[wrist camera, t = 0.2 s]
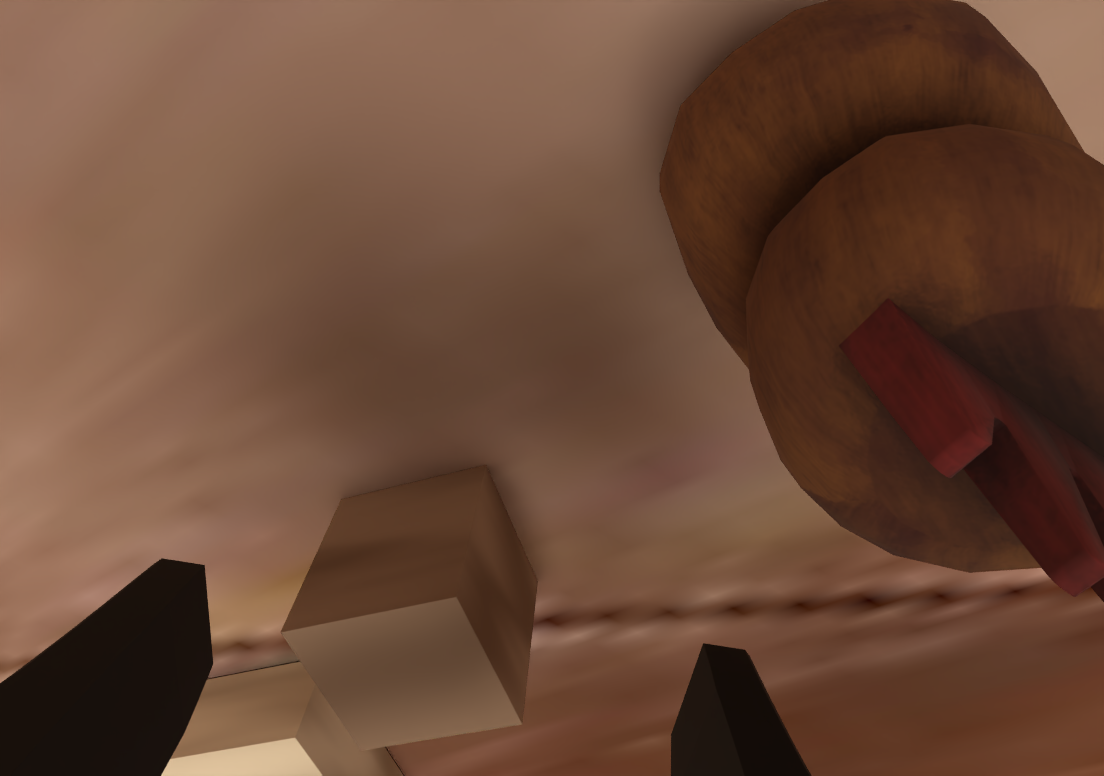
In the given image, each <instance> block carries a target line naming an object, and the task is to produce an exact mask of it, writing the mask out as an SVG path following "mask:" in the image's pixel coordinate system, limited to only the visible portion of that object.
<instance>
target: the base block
mask: <svg viewBox="0 0 1104 776" xmlns="http://www.w3.org/2000/svg"><path fill="white" fill-rule="evenodd" d="M161 776H403V774H402V773H401V771H400V769H399V768H398V766H397V765H396V763H395V762H394V760H393V759H392V757H391V756H390V754H389V753H388V751H387V750H386V748H385V747H381V748H375V749H369V750H363V751H361V750H360V749H359V747H358V746H357V744H356V743H355V741H354V740H353V739H352V737H351V736H350V734H349V733H348V731H347V730H346V728H345V727H344V725H343V724H342V722H341V721H340V719H339V718H338V716H337V715H336V713H335V712H334V710H333V709H332V708H331V706H330V705H329V703H328V702H327V700H326V699H325V697H324V696H323V694H322V693H321V691H320V690H319V688H318V687H317V685H316V684H315V682H314V681H313V680H312V678H311V677H310V675H309V674H308V672H307V671H306V669H305V668H304V666H303V665H302V663H301V662H296V663H290V664H285V665H280V666H275V667H270V668H265V669H259V670H254V671H249V672H244V673H239V674H234V675H228V676H223V677H218V678H213V679H208V680H206V683H205V685H204V688H203V690H202V693H201V695H200V698H199V700H198V703H197V705H196V707H195V710H194V712H193V714H192V717H191V719H190V721H189V724H188V726H187V728H186V731H185V733H184V735H183V737H182V739H181V740H180V742H179V744H178V746H177V748H176V750H175V751H174V753H173V755H172V757H171V759H170V760H169V762H168V764H167V766H166V768H165V770H164V771H163V773H162V775H161Z"/></svg>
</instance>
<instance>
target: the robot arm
mask: <svg viewBox="0 0 1104 776" xmlns="http://www.w3.org/2000/svg"><path fill="white" fill-rule="evenodd" d="M212 666H213V656H212V644H211V633H210V622H209V610H208V599H207V587H206V576H205V565H200V564H194V563H188V562H181V561H175V560H168V559H161V560H159V561H157V562H156V563H154V564H153V565H152V566H151V567H149V568H148V569H147V570H146V571H144V572H143V573H142V574H141V575H139V576H138V577H137V578H136V579H134V580H133V581H132V582H131V583H129V584H128V585H127V586H126V587H124V588H123V589H122V590H121V591H119V592H118V593H117V594H116V595H114V596H113V597H112V598H111V599H110V600H108V601H107V602H106V603H105V604H103V605H102V606H101V607H100V608H98V609H97V610H96V611H94V612H93V613H92V614H91V615H89V616H88V617H87V618H86V619H84V620H83V621H82V622H81V623H79V624H78V625H77V626H76V627H74V628H73V629H72V630H70V631H69V632H68V633H67V634H65V635H64V636H63V637H61V638H60V639H59V640H57V641H56V642H55V643H53V644H52V645H51V646H49V647H48V648H47V649H45V650H44V651H43V652H42V653H40V654H39V655H38V656H36V657H35V658H34V659H32V660H31V661H30V662H28V663H27V664H26V665H24V666H23V667H22V668H21V669H19V670H18V671H16V672H15V673H14V674H12V675H11V676H10V677H8V678H7V679H6V680H4V681H3V682H1V683H0V776H161V775H162V773H163V771H164V770H165V768H166V766H167V764H168V762H169V760H170V759H171V757H172V755H173V753H174V751H175V750H176V748H177V746H178V744H179V742H180V740H181V739H182V737H183V735H184V733H185V731H186V728H187V726H188V724H189V721H190V719H191V717H192V714H193V712H194V710H195V707H196V705H197V703H198V700H199V698H200V695H201V693H202V690H203V688H204V685H205V683H206V680H207V678H208V675H209V673H210V671H211V668H212ZM671 776H811V774H810V772H809V770H808V769H807V767H806V765H805V763H804V762H803V760H802V758H801V756H800V754H799V752H798V751H797V749H796V747H795V745H794V743H793V741H792V739H791V738H790V736H789V734H788V732H787V730H786V728H785V726H784V724H783V722H782V720H781V718H780V716H779V715H778V713H777V711H776V709H775V707H774V705H773V703H772V701H771V699H770V697H769V695H768V693H767V691H766V689H765V687H764V685H763V683H762V680H761V678H760V676H759V674H758V672H757V670H756V668H755V666H754V664H753V662H752V660H751V658H750V656H749V655H748V653H747V652H746V651H745V650H743V649H736V648H730V647H723V646H717V645H711V644H704V643H703V646H702V648H701V651H700V654H699V657H698V660H697V663H696V666H695V668H694V671H693V674H692V677H691V680H690V683H689V685H688V688H687V691H686V694H685V697H684V700H683V703H682V705H681V708H680V711H679V714H678V717H677V720H676V722H675V725H674V728H673V731H672V734H671Z"/></svg>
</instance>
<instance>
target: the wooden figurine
mask: <svg viewBox="0 0 1104 776" xmlns="http://www.w3.org/2000/svg"><path fill="white" fill-rule="evenodd" d="M660 193H661V196H662V199H663V202H664V205H665V208H666V211H667V214H668V216H669V219H670V222H671V225H672V228H673V231H674V234H675V237H676V240H677V243H678V246H679V249H680V252H681V255H682V257H683V260H684V263H685V266H686V269H687V272H688V275H689V277H690V279H691V280H692V282H693V284H694V286H695V288H696V290H697V292H698V294H699V296H700V297H701V299H702V301H703V303H704V305H705V307H706V309H707V311H708V312H709V314H710V316H711V318H712V320H713V322H714V324H715V326H716V327H717V329H718V330H719V331H720V333H721V334H722V335H723V337H724V338H725V339H726V341H727V342H728V343H729V344H730V346H731V347H732V348H733V350H734V351H735V352H736V353H737V355H738V356H739V357H740V359H741V360H742V361H743V362H744V364H745V365H746V366H747V368H748V369H749V372H750V381H751V384H752V387H753V390H754V393H755V396H756V399H757V402H758V405H759V409H760V411H761V413H762V416H763V418H764V421H765V423H766V426H767V428H768V430H769V433H770V435H771V438H772V440H773V443H774V445H775V447H776V450H777V452H778V455H779V457H780V460H781V461H782V462H783V464H784V465H785V467H786V468H787V469H788V471H789V472H790V473H791V475H792V476H793V478H794V479H795V480H796V482H797V483H798V484H799V486H800V487H801V488H802V489H803V490H804V491H805V492H806V493H807V494H808V495H809V496H810V497H811V498H812V499H813V500H814V501H815V502H816V503H817V504H818V505H820V506H821V507H822V508H823V509H824V510H825V511H826V512H827V513H828V514H829V515H830V516H831V517H832V518H833V519H834V520H835V521H836V522H837V523H838V524H839V525H840V526H842V527H844V528H845V529H847V530H849V531H851V532H853V533H854V534H856V535H858V536H860V537H862V538H864V539H865V540H867V541H869V542H871V543H873V544H874V545H876V546H878V547H880V548H882V549H883V550H885V551H887V552H889V553H891V554H893V555H896V556H900V557H904V558H909V559H913V560H917V561H921V562H926V563H930V564H934V565H939V566H943V567H947V568H952V569H956V570H960V571H965V572H969V573H972V572H986V571H1000V570H1015V569H1029V568H1042V569H1043V570H1044V571H1045V573H1046V574H1047V575H1048V576H1049V577H1050V578H1051V579H1052V580H1053V581H1054V582H1055V583H1056V584H1057V585H1058V586H1059V587H1060V588H1062V589H1063V590H1065V591H1066V592H1068V593H1069V594H1070V595H1072V596H1074V597H1076V596H1078V595H1079V594H1081V593H1082V592H1083V591H1085V590H1086V589H1088V588H1089V587H1091V588H1092V589H1093V590H1094V591H1095V592H1096V594H1097V595H1098V596H1099V597H1100V598H1101V599H1102V601H1103V602H1104V165H1103V164H1101V163H1100V162H1098V161H1097V160H1095V159H1094V158H1092V157H1091V156H1089V155H1088V154H1086V153H1085V152H1084V151H1083V149H1082V147H1081V146H1080V144H1079V142H1078V141H1077V139H1076V137H1075V136H1074V134H1073V132H1072V130H1071V129H1070V127H1069V125H1068V124H1067V122H1066V120H1065V119H1064V117H1063V115H1062V114H1061V112H1060V110H1059V109H1058V107H1057V105H1056V104H1055V102H1054V100H1053V99H1052V97H1051V95H1050V94H1049V92H1048V90H1047V88H1046V87H1045V85H1044V83H1043V82H1042V80H1041V78H1040V77H1039V75H1038V73H1037V72H1036V71H1035V70H1034V68H1033V67H1032V66H1031V65H1030V64H1029V63H1028V62H1027V61H1026V60H1025V59H1024V58H1023V57H1022V56H1021V55H1020V53H1019V52H1018V51H1017V50H1016V49H1015V48H1014V47H1013V46H1012V45H1011V44H1010V43H1009V42H1008V41H1007V40H1006V39H1005V37H1004V36H1003V35H1002V34H1001V33H1000V32H999V31H998V30H997V29H996V28H995V27H994V26H993V25H992V24H991V22H990V21H989V20H988V19H987V18H986V17H985V16H983V15H982V14H981V13H979V12H978V11H976V10H975V9H974V8H972V7H971V6H969V5H968V4H967V3H964V2H958V1H953V0H828V1H825V2H822V3H818V4H815V5H812V6H808V7H805V8H802V9H798V10H795V11H793V12H792V13H790V14H789V15H787V16H786V17H784V18H783V19H781V20H780V21H778V22H777V23H775V24H774V25H772V26H771V27H769V28H768V29H766V30H765V31H764V32H762V33H761V34H759V35H758V36H756V37H755V38H753V39H752V40H750V41H749V42H747V43H746V44H744V45H743V46H741V47H740V48H738V49H737V50H735V51H734V52H732V53H731V54H730V55H729V56H728V57H727V58H726V59H725V60H724V61H723V62H722V63H721V65H720V66H719V67H718V68H717V69H716V70H715V71H714V72H713V73H712V74H711V75H710V76H709V77H708V78H707V79H706V80H705V81H704V82H703V83H702V84H701V85H700V86H699V87H698V88H697V89H696V90H695V91H694V92H693V93H692V94H691V95H690V96H689V97H688V98H687V99H686V100H685V101H684V102H683V103H682V105H681V106H680V109H679V112H678V115H677V119H676V122H675V125H674V129H673V132H672V135H671V139H670V142H669V145H668V149H667V152H666V155H665V158H664V162H663V165H662V168H661V172H660Z"/></svg>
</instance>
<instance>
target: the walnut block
mask: <svg viewBox="0 0 1104 776" xmlns="http://www.w3.org/2000/svg"><path fill="white" fill-rule="evenodd" d="M537 583H538V581H537V578H536V576H535V574H534V572H533V569H532V567H531V565H530V563H529V560H528V558H527V556H526V554H525V551H524V549H523V547H522V545H521V542H520V540H519V538H518V536H517V533H516V531H515V529H514V527H513V524H512V522H511V520H510V518H509V515H508V513H507V511H506V509H505V507H504V504H503V502H502V500H501V498H500V495H499V493H498V491H497V489H496V486H495V484H494V482H493V480H492V477H491V475H490V473H489V471H488V468H487V466H486V465H483V466H479V467H475V468H471V469H466V470H462V471H458V472H454V473H450V474H445V475H441V476H437V477H433V478H429V479H424V480H420V481H416V482H412V483H408V484H403V485H399V486H395V487H391V488H387V489H382V490H378V491H374V492H370V493H365V494H361V495H357V496H353V497H349V498H344V499H341V501H340V503H339V506H338V508H337V510H336V512H335V514H334V516H333V519H332V521H331V523H330V525H329V527H328V530H327V532H326V534H325V536H324V538H323V541H322V543H321V545H320V547H319V549H318V552H317V554H316V556H315V558H314V560H313V563H312V565H311V567H310V569H309V571H308V573H307V576H306V578H305V580H304V582H303V584H302V587H301V589H300V591H299V593H298V595H297V598H296V600H295V602H294V604H293V606H292V609H291V611H290V613H289V615H288V617H287V620H286V622H285V624H284V626H283V628H282V630H281V634H282V635H283V637H284V638H285V640H286V641H287V643H288V644H289V646H290V647H291V649H292V650H293V651H294V653H295V654H296V656H297V657H298V659H299V660H300V662H301V663H302V665H303V666H304V668H305V669H306V671H307V672H308V674H309V675H310V677H311V678H312V680H313V681H314V682H315V684H316V685H317V687H318V688H319V690H320V691H321V693H322V694H323V696H324V697H325V699H326V700H327V702H328V703H329V705H330V706H331V708H332V709H333V710H334V712H335V713H336V715H337V716H338V718H339V719H340V721H341V722H342V724H343V725H344V727H345V728H346V730H347V731H348V733H349V734H350V736H351V737H352V739H353V740H354V741H355V743H356V744H357V746H358V747H359V749H360V750H361V751H363V750H369V749H375V748H381V747H387V746H393V745H399V744H405V743H411V742H418V741H424V740H430V739H436V738H442V737H448V736H454V735H460V734H466V733H473V732H479V731H485V730H491V729H497V728H503V727H509V726H515V725H521V724H522V722H523V713H524V704H525V694H526V685H527V676H528V667H529V657H530V648H531V639H532V630H533V620H534V611H535V602H536V592H537Z"/></svg>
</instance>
